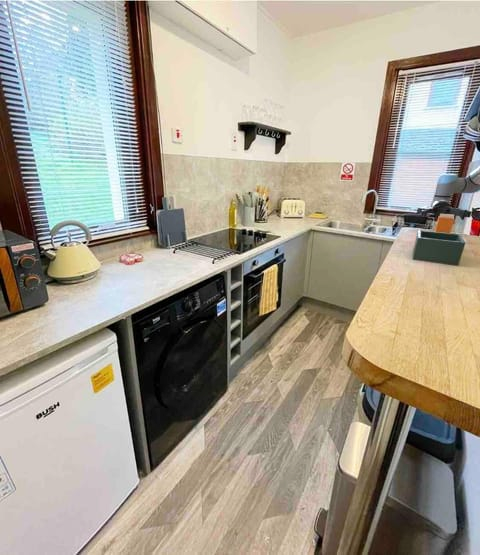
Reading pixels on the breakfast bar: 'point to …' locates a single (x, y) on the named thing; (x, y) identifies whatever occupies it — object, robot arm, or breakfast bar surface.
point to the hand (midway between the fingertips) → (444, 215)
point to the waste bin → (438, 247)
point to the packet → (444, 223)
